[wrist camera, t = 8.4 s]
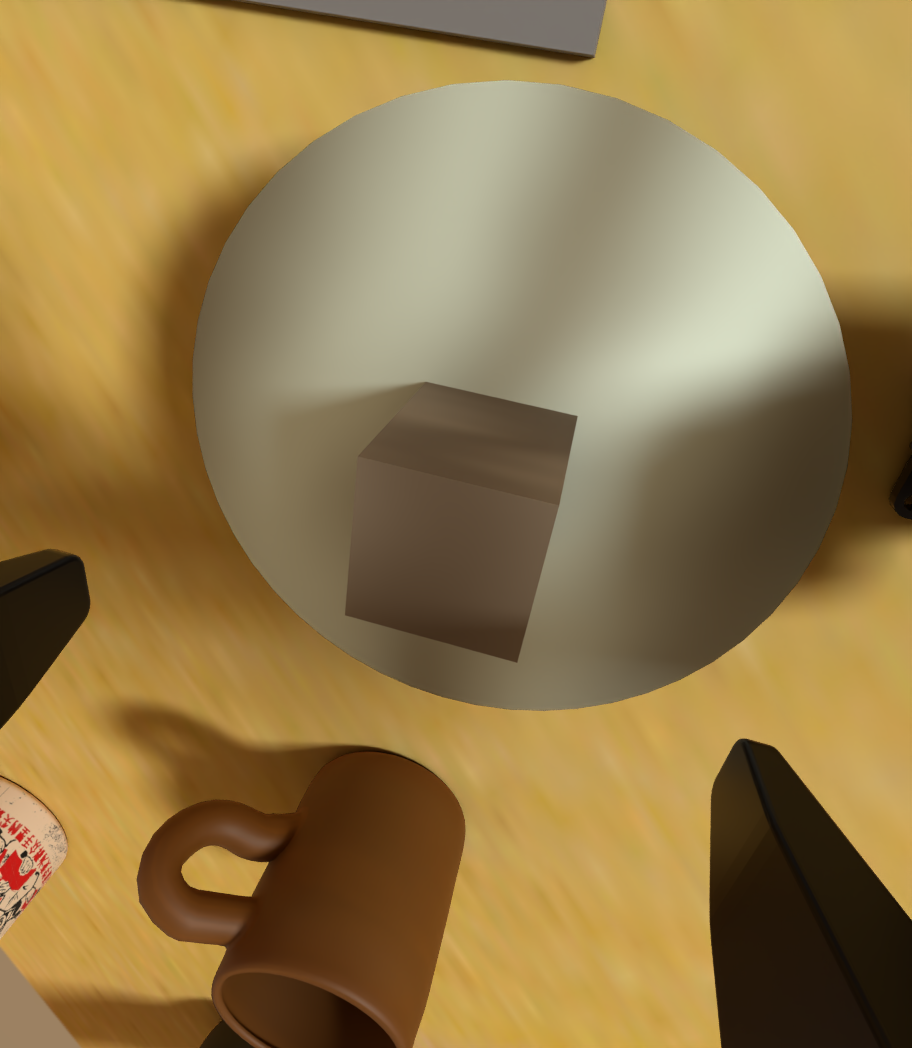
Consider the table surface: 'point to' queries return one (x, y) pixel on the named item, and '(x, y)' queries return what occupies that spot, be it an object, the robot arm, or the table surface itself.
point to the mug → (320, 904)
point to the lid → (522, 395)
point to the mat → (476, 19)
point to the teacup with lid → (25, 850)
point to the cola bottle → (224, 1038)
